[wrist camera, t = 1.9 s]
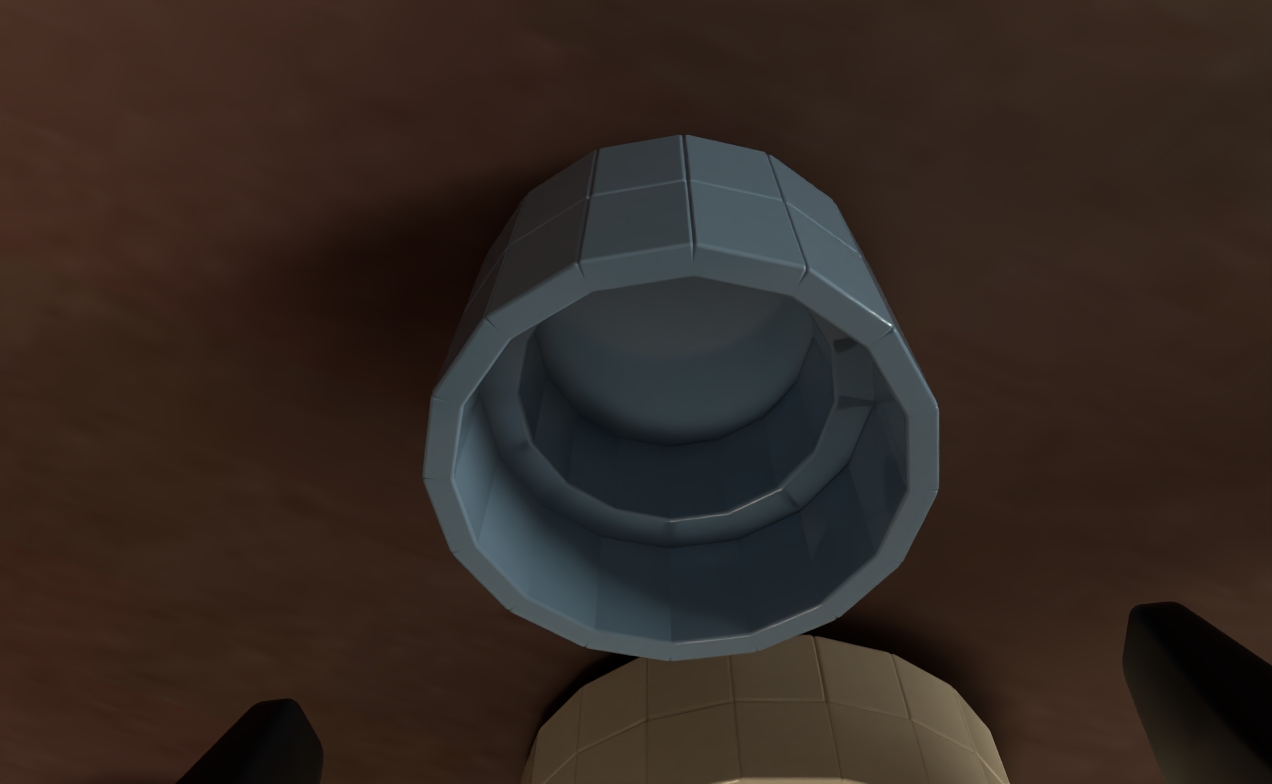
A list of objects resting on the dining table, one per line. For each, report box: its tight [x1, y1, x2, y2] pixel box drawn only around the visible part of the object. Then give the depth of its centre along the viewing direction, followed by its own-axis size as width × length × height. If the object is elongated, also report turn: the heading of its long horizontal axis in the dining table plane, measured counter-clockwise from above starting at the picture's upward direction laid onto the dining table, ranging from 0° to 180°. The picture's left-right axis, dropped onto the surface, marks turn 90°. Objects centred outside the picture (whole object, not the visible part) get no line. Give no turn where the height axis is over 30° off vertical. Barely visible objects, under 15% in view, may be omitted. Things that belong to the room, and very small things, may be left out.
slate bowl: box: [422, 135, 939, 661], centre depth 15 cm, size 7×7×5 cm
